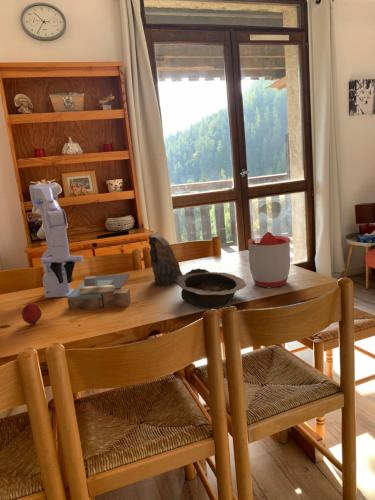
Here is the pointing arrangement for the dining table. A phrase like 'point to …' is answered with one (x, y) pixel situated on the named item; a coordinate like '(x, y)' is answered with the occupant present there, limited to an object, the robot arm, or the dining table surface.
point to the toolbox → (102, 301)
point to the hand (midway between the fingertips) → (65, 282)
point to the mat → (115, 279)
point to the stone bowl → (208, 287)
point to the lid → (89, 282)
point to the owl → (163, 261)
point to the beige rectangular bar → (97, 289)
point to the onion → (31, 313)
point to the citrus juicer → (269, 260)
